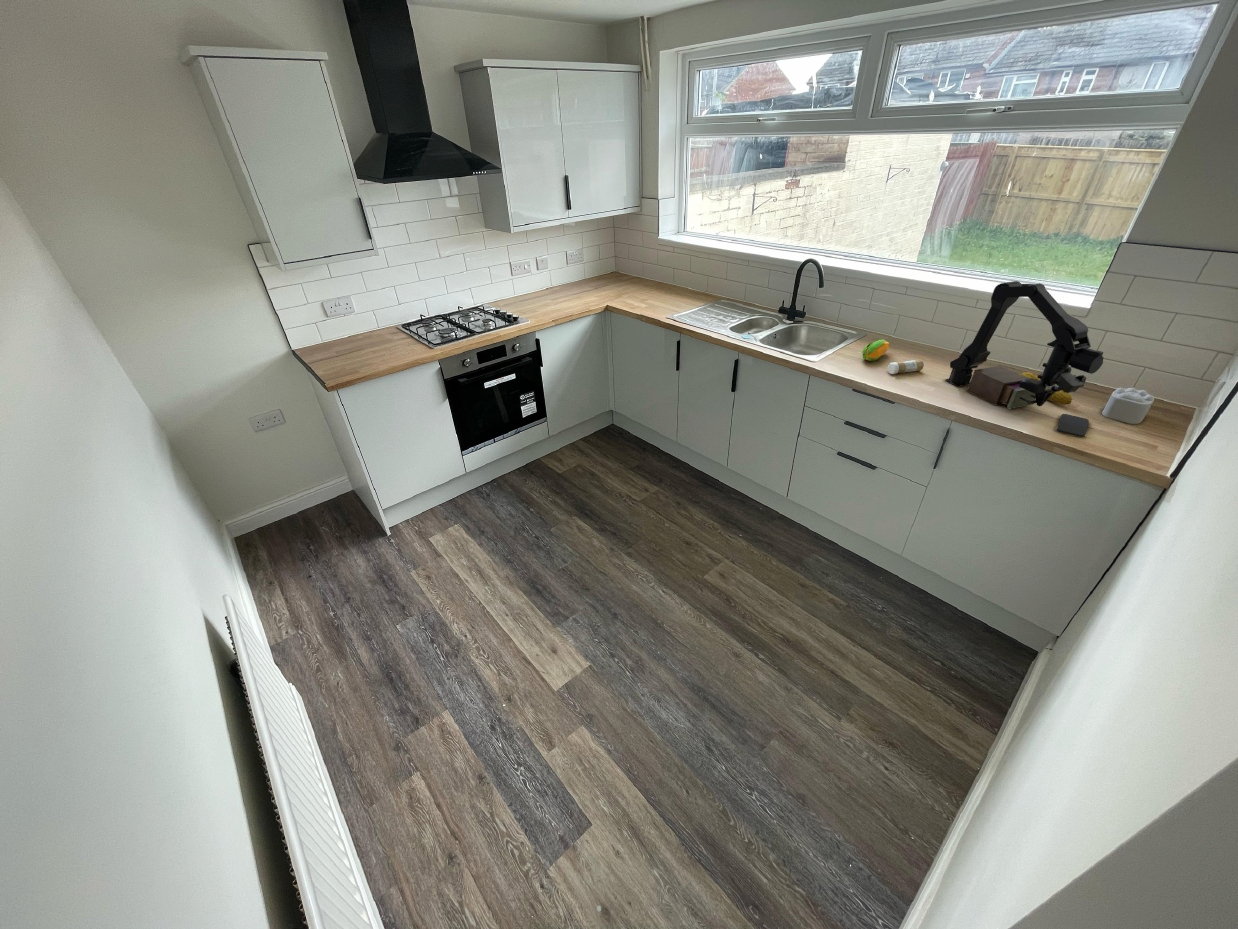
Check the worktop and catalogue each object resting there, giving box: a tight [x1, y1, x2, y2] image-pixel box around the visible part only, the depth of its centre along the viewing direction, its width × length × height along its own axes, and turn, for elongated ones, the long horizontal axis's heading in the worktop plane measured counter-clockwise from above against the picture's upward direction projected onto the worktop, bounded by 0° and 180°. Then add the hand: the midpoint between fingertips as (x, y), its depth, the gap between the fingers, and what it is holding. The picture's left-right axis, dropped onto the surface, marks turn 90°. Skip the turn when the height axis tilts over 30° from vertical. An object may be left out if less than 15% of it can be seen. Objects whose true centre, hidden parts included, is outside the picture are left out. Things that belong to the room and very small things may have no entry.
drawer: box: [999, 382, 1037, 410], centre depth 186 cm, size 16×10×7 cm, turn 16°
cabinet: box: [966, 365, 1030, 406], centre depth 192 cm, size 13×12×9 cm
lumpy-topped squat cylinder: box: [1101, 386, 1155, 425], centre depth 178 cm, size 10×13×9 cm
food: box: [1019, 371, 1073, 406], centre depth 192 cm, size 21×6×6 cm, turn 13°
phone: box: [1056, 413, 1090, 438], centre depth 174 cm, size 7×1×15 cm
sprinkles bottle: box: [887, 359, 925, 375], centre depth 214 cm, size 5×5×14 cm
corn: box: [861, 339, 890, 362], centre depth 227 cm, size 7×8×20 cm
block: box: [1007, 383, 1021, 401], centre depth 187 cm, size 5×5×5 cm
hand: (1039, 405), depth 179 cm, fingers closed, pressing on drawer
